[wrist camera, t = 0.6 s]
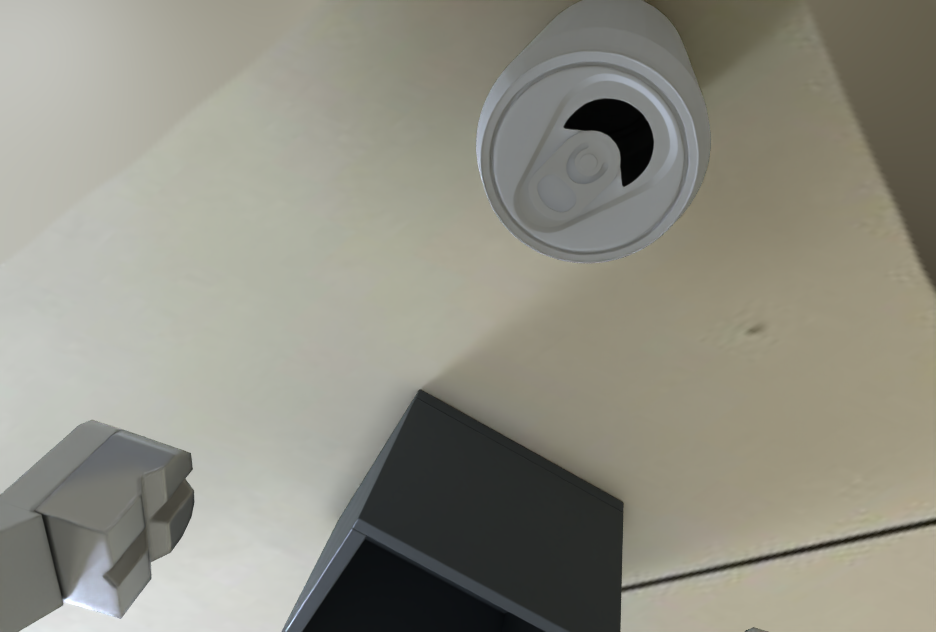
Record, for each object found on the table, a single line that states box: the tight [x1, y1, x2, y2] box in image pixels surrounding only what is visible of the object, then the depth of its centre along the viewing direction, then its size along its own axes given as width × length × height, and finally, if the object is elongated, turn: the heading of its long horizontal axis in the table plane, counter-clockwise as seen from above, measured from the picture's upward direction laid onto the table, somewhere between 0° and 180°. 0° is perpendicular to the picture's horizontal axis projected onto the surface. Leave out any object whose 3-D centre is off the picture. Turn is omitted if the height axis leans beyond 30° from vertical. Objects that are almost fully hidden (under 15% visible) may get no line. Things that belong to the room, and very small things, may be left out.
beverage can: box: [476, 0, 711, 263], centre depth 22 cm, size 6×6×12 cm
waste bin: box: [282, 390, 624, 632], centre depth 37 cm, size 14×14×10 cm
